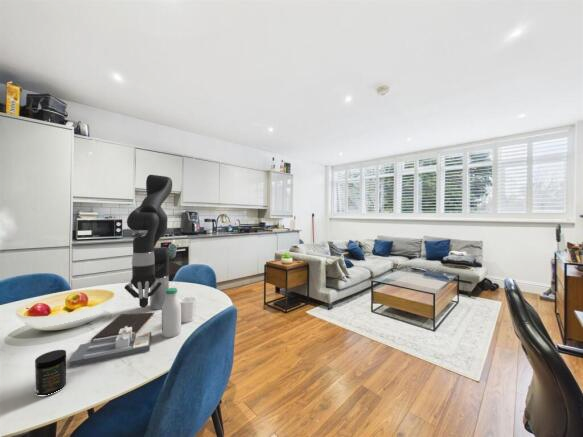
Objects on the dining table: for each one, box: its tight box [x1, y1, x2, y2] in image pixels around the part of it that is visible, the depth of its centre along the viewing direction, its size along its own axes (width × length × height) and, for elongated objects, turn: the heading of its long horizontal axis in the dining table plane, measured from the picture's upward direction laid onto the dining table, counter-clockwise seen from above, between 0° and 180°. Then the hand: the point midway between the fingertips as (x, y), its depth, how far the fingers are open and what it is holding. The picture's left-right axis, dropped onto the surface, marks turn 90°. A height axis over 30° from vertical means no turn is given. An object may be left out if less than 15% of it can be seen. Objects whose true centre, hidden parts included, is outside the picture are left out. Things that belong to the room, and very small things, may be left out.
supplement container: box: [34, 349, 67, 396], centre depth 74 cm, size 7×7×10 cm
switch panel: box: [68, 331, 152, 368], centre depth 95 cm, size 12×24×3 cm, turn 117°
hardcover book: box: [91, 312, 155, 343], centre depth 113 cm, size 16×23×2 cm
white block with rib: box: [115, 333, 130, 349], centre depth 94 cm, size 4×4×4 cm
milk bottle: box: [161, 287, 182, 338], centre depth 108 cm, size 8×8×20 cm
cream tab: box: [119, 326, 132, 339], centre depth 99 cm, size 4×4×4 cm
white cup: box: [178, 296, 197, 323], centre depth 122 cm, size 8×8×10 cm
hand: (143, 306), depth 96 cm, fingers closed
